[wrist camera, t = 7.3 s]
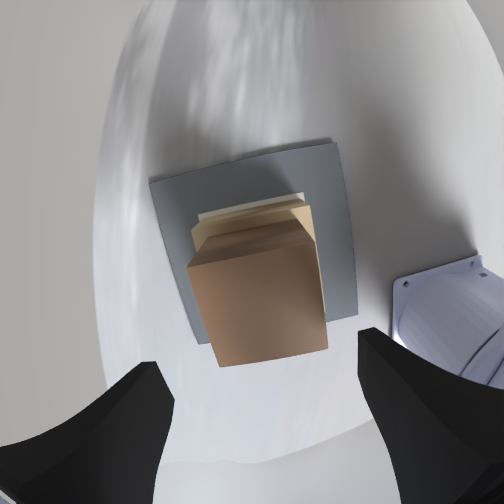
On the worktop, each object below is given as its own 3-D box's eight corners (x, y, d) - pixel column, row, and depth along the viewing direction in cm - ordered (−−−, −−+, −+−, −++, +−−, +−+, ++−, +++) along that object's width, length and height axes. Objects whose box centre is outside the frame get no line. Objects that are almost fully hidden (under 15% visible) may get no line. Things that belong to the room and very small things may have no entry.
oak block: (299, 198, 17) (309, 205, 13) (314, 287, 18) (325, 312, 15) (203, 218, 17) (190, 230, 14) (226, 304, 19) (220, 331, 16)
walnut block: (296, 218, 14) (314, 241, 9) (310, 299, 15) (328, 348, 11) (207, 237, 14) (186, 267, 10) (229, 315, 15) (219, 367, 11)
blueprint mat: (334, 143, 16) (336, 142, 16) (356, 311, 20) (358, 315, 19) (151, 183, 17) (148, 184, 17) (199, 340, 21) (198, 345, 20)
